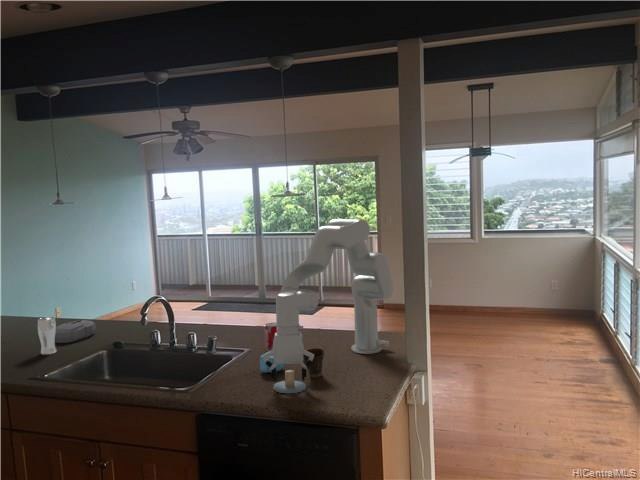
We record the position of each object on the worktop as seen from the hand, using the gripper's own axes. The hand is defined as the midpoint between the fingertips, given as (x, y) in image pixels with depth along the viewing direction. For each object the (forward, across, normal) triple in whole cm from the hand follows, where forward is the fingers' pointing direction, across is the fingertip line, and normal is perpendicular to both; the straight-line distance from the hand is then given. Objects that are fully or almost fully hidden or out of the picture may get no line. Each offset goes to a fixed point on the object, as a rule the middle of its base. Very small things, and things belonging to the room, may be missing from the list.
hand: (289, 379), depth 169 cm
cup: (+3, -8, -10) cm, 13 cm away
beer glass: (+3, +107, -48) cm, 117 cm away
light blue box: (+3, +7, -18) cm, 20 cm away
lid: (+3, 0, 0) cm, 3 cm away
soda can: (+3, +9, -40) cm, 41 cm away
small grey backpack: (+4, +107, -71) cm, 128 cm away
